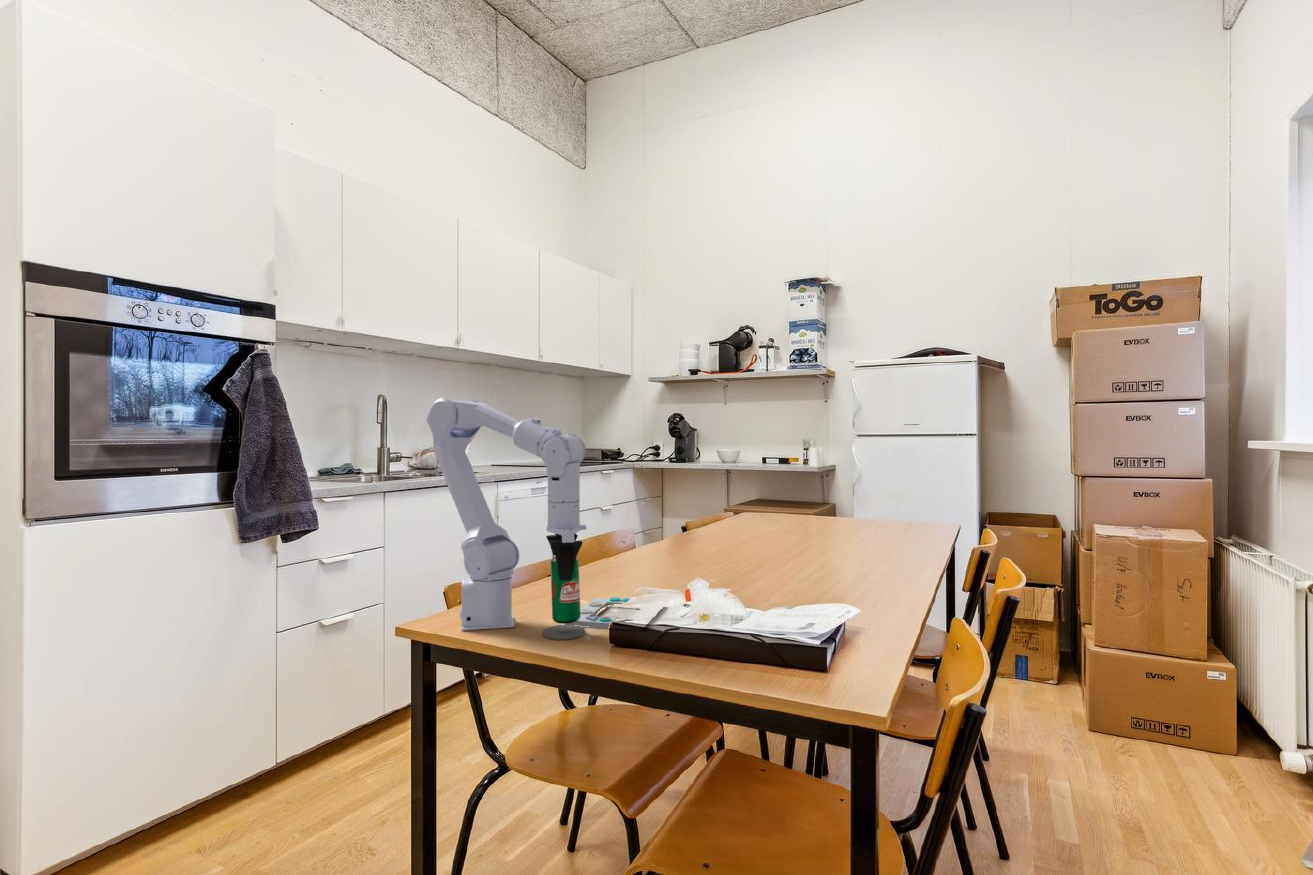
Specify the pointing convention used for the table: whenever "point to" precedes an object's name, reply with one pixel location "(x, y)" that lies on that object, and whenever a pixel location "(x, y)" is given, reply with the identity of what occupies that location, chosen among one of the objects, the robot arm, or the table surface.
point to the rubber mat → (563, 632)
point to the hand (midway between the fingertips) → (563, 576)
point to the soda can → (565, 595)
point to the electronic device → (592, 609)
